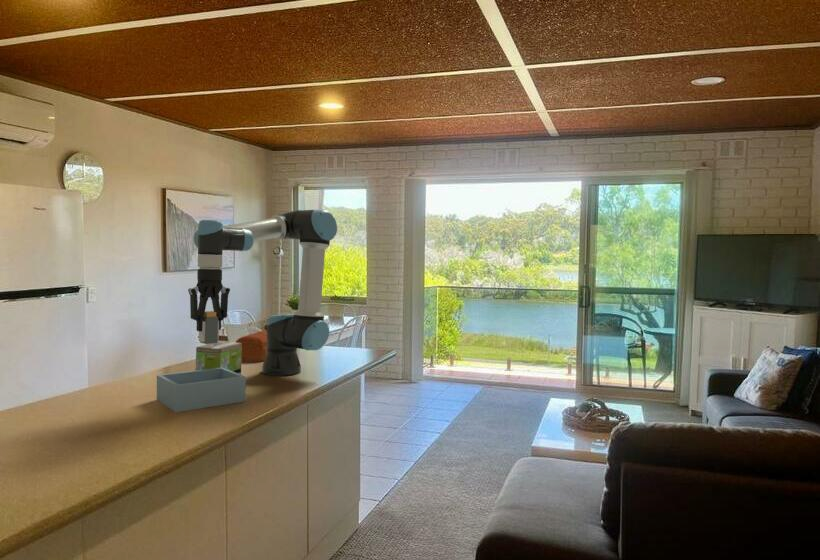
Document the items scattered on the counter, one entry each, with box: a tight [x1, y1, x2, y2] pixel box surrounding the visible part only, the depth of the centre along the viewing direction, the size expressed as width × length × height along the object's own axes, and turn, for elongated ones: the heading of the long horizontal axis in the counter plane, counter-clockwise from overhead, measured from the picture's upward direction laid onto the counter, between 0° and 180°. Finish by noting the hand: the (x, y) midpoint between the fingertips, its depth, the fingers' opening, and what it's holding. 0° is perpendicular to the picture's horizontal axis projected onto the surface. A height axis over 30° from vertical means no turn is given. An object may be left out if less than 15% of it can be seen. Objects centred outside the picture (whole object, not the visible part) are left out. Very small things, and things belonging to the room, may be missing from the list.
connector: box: [199, 310, 219, 345], centre depth 191 cm, size 4×4×10 cm
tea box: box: [195, 341, 242, 375], centre depth 212 cm, size 15×10×15 cm, turn 167°
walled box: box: [156, 367, 247, 413], centre depth 190 cm, size 22×18×8 cm
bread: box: [235, 330, 267, 363], centre depth 270 cm, size 16×27×11 cm, turn 170°
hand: (208, 340), depth 191 cm, fingers closed on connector, 4 cm apart
